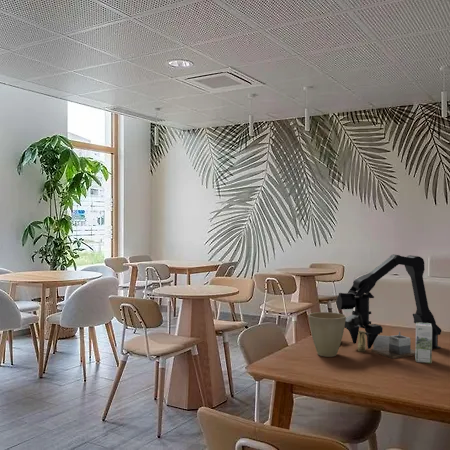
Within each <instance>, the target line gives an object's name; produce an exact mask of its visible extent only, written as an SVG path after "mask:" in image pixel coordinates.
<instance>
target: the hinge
mask: <svg viewBox="0 0 450 450" xmlns="http://www.w3.org/2000/svg"><path fill="white" fill-rule="evenodd" d="M411 343H412V341H411V337H410V336H405V335H402V334H401V331H398V334H395V335H394V334H393V335H380V334H378V336H377V337H376V339H375V341H374V343H373V345H372V347H373V348H372V349H371V348H370V351H371V353H375V354H377V355H381V356H383V357H386V358H389V359H392V360H393V359H398V358H399V359H400V358H406V357H413V356H414V357H415V352H416V349H412V347H411Z"/></svg>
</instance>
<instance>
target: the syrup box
mask: <svg viewBox="0 0 450 450" xmlns="http://www.w3.org/2000/svg"><path fill="white" fill-rule="evenodd" d="M415 350H416V352H415V355H414V357H415V362H416V363H423V364H432V362H433V361H432V360H433V358H432V357H433V353H432V351H433V349H432V325H431V323H416V324H415Z"/></svg>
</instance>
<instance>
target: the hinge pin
mask: <svg viewBox="0 0 450 450" xmlns="http://www.w3.org/2000/svg"><path fill="white" fill-rule="evenodd" d="M365 333H366V331H365V330H359V331H358V337H357V351H358V352H366V337H367V336H366V334H365Z"/></svg>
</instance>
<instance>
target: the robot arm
mask: <svg viewBox="0 0 450 450" xmlns="http://www.w3.org/2000/svg"><path fill="white" fill-rule="evenodd" d="M398 265H400V266H401V265H402V266H404V268H405V271H406V272H407V273H408V276H410V281H411V286H412V291H413V296H414V301H415V307H416V311H415V313H412V318H413V323H414V324H415V325H416V323H431V325H432V350H435V349H436V350H437V349H441V346H440V345H439V344H438V343H439V340H438V339H439V336H441V334H442V331H443V330H442V329H441V328H440V326H439V325H438V324H437V321H436V319H435V316H434V314H433V313H432V311H431V310H430V308H429V303H428V298H427V293H426V287H425V282H424V278H423V277H424V272H425V260H424V258H423V257H421V256H418V255H407V256H403V255H401V254H391V255H390V256H389V257H388V258H386V260H384V261H383V262H381V263H380V264H379V265H378V266H377V267H375V268H374V269H372V270H371V271H370V272H368V273H365V274H363V275H361V276H359V277H357V278H355V279H354V280H353V283H352V286H351V287H350V288H349V290H348V291H347V292H338V295H337V297H336V303H335V304H336V307H337V310H352V312H351V315H348V316H346V320H345V328H344V329H347V330H348V332H349V333H350V337H351V339H352V340H351V341H352V344H354V345H355V344H357V343H358V331H360V328H361V329H364V331H365V332H366V333H365V334H366V336H365V337H366V342H367V343H366V344H367V345H366V346H367V349H368V350H371V348H372V347H373V343H374V341H375V339H376V337H377V336H378V335H380V334H381V333H383V332H384V331H383V326H382V325H379V324H377V323H372V321H370V315H372V311H370V299H374V298H375V296H374V295H373V294H372V293H371V291H372V290H373V288H375V285H376V283H378V281H380V279H382V278H383V277H384V276H386V275H387V274H388V273H389V272H391V271H392V270H393V269H395V268H396V267H397V266H398ZM353 309H354V310H353Z"/></svg>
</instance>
